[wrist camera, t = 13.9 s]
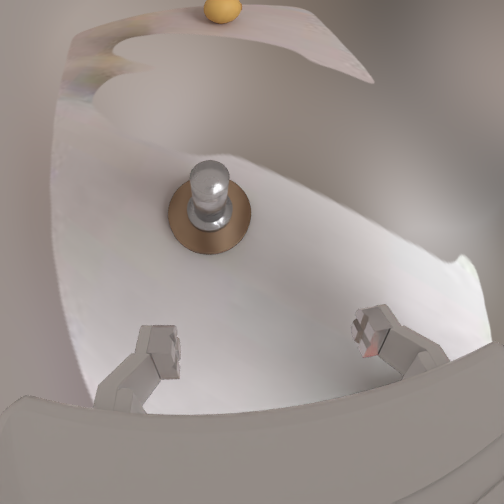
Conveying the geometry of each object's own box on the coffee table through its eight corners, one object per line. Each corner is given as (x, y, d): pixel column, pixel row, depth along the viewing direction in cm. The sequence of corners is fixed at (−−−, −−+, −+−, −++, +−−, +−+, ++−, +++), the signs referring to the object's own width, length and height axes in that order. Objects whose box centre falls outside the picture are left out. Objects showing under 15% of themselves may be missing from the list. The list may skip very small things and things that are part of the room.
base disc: (246, 178, 43) (247, 174, 42) (253, 252, 41) (254, 249, 39) (170, 181, 42) (169, 177, 40) (169, 256, 39) (168, 253, 37)
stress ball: (225, 33, 55) (254, 12, 51) (200, 13, 47) (231, -11, 43) (214, 23, 59) (241, 4, 55) (192, 5, 51) (220, -16, 46)
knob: (230, 190, 41) (236, 152, 31) (233, 231, 39) (240, 201, 30) (187, 192, 40) (181, 154, 30) (187, 233, 38) (180, 204, 29)
